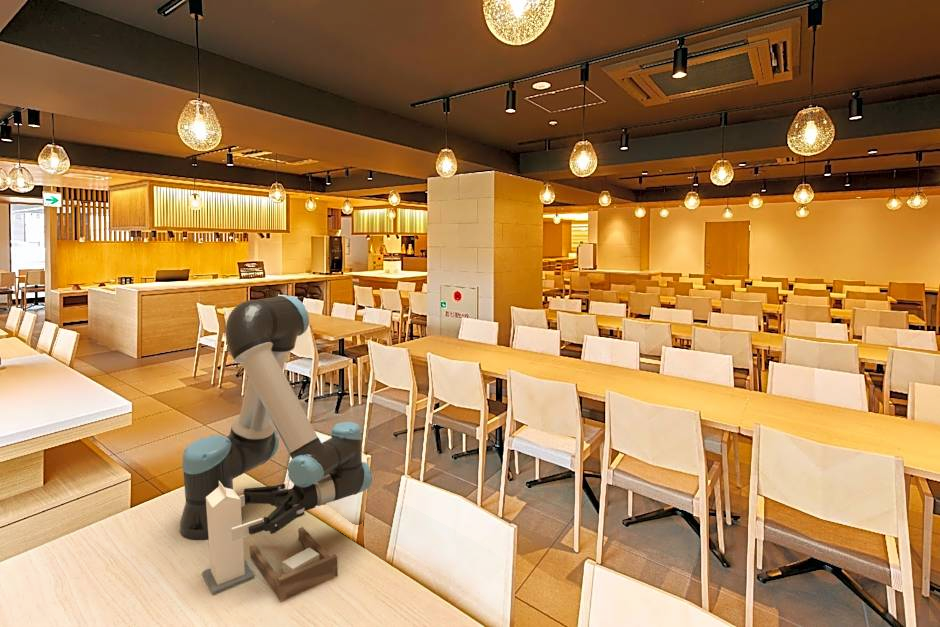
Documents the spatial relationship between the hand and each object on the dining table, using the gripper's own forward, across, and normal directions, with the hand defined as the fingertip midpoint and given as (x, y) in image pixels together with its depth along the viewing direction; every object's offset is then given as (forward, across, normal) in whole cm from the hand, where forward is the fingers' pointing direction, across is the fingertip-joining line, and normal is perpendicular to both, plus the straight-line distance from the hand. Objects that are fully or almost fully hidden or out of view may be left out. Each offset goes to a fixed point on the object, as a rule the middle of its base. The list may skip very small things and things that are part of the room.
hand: (223, 521), depth 117 cm
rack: (-14, -5, -14) cm, 20 cm away
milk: (0, 0, -14) cm, 14 cm away
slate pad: (0, 0, -14) cm, 14 cm away
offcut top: (-13, -12, -12) cm, 21 cm away
